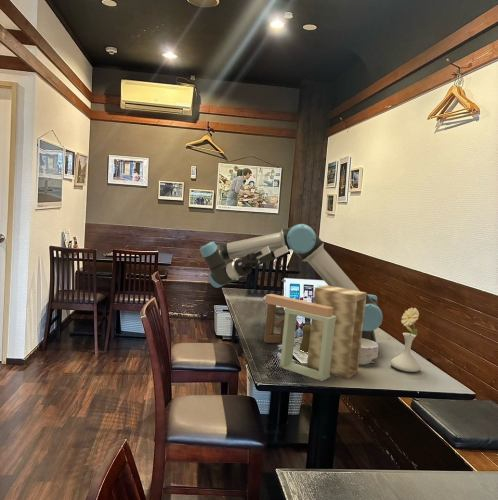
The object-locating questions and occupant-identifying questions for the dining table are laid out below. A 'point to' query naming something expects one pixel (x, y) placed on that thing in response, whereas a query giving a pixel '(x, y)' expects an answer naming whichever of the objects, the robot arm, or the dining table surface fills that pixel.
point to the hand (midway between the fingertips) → (278, 248)
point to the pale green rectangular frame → (325, 346)
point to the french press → (279, 315)
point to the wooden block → (269, 335)
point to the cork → (305, 338)
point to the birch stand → (339, 329)
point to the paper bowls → (368, 351)
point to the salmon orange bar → (299, 305)
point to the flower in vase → (407, 344)
